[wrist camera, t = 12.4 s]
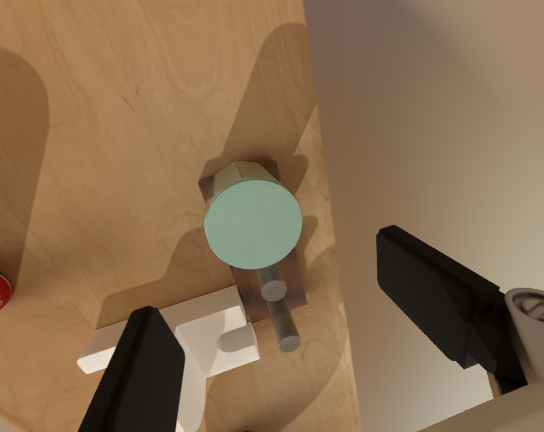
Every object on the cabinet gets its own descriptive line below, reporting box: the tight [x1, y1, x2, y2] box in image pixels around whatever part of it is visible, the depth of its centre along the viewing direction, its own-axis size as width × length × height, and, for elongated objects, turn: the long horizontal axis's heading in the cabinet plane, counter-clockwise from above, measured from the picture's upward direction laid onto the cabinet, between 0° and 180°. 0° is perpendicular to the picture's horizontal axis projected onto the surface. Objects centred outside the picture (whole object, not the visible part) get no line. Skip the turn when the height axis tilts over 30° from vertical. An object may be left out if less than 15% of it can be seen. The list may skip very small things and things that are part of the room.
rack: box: [198, 159, 307, 352], centre depth 24 cm, size 20×8×8 cm, turn 13°
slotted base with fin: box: [77, 285, 260, 432], centre depth 25 cm, size 18×10×11 cm, turn 103°
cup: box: [203, 161, 302, 269], centre depth 20 cm, size 7×7×8 cm
